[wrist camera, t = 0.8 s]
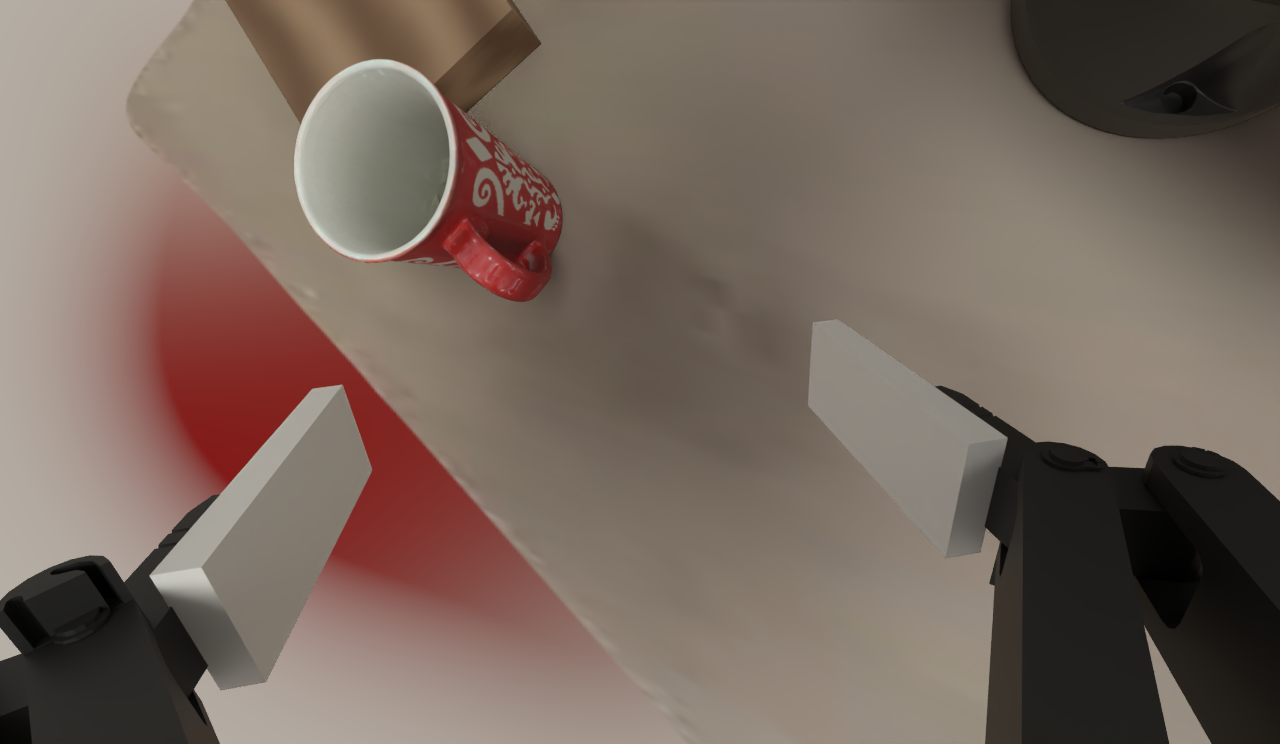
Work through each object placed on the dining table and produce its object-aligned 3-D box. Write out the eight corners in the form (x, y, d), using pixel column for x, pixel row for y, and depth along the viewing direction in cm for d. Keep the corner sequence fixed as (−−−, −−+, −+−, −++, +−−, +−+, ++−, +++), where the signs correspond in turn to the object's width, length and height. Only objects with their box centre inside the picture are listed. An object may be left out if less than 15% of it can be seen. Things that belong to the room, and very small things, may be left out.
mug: (432, 221, 40) (258, 166, 27) (515, 124, 38) (370, 14, 25) (543, 351, 38) (416, 360, 25) (636, 258, 36) (550, 215, 23)
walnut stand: (419, -139, 38) (377, -192, 34) (541, 43, 37) (511, 9, 33) (273, 24, 42) (221, -7, 38) (377, 193, 41) (334, 179, 37)
